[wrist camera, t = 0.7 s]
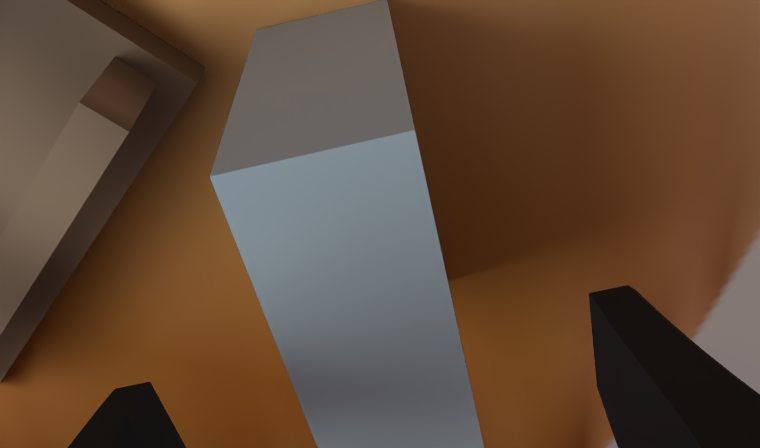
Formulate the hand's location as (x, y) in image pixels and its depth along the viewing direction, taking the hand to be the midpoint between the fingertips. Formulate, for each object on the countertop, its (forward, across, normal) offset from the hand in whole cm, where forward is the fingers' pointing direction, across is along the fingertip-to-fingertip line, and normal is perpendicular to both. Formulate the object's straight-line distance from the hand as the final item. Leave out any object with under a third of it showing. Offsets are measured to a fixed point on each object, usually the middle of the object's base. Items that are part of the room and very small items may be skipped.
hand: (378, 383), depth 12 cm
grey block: (+8, 0, 0) cm, 8 cm away
